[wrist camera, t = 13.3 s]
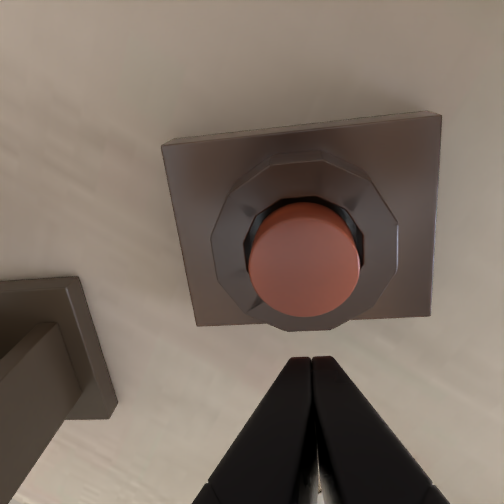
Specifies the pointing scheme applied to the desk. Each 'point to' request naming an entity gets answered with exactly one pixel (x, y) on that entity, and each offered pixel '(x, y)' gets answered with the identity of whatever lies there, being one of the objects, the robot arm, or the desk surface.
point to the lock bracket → (45, 371)
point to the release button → (304, 260)
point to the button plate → (315, 191)
